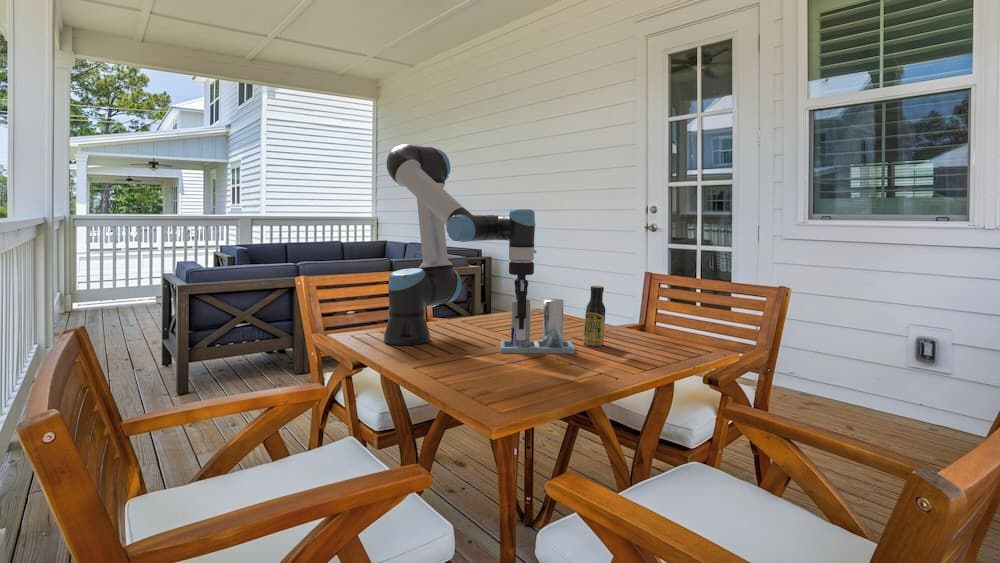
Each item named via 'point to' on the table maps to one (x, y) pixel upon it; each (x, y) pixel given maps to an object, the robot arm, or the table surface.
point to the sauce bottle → (595, 319)
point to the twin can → (553, 323)
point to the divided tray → (535, 348)
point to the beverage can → (514, 322)
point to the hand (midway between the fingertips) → (520, 336)
